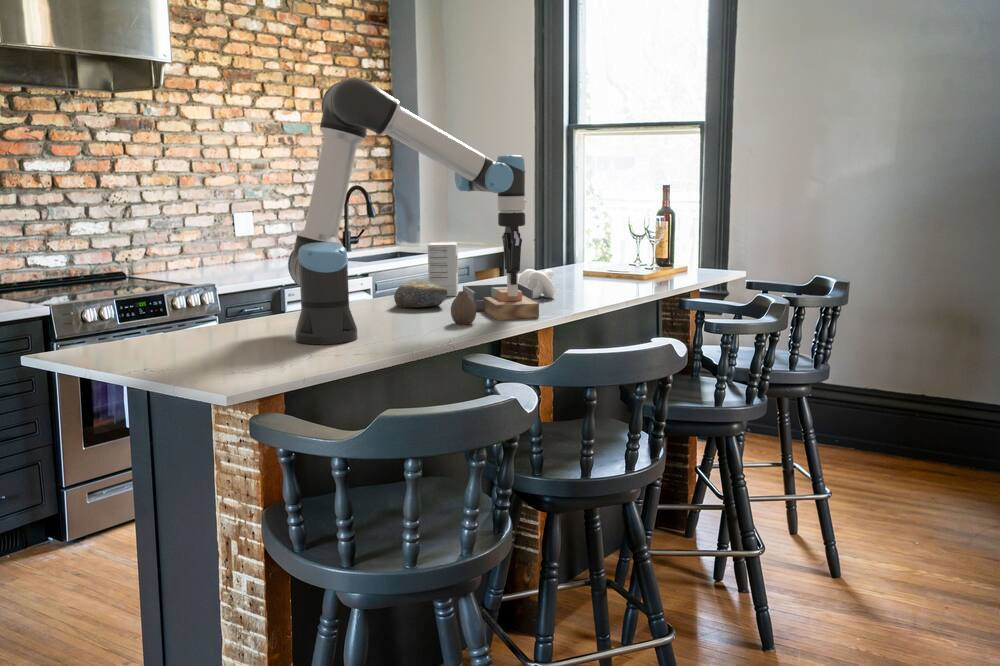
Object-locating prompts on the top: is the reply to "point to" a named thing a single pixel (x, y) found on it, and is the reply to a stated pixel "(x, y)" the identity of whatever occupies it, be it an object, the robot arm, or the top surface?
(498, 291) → the tile
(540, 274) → the white knot sculpture
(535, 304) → the wooden block
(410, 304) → the stone
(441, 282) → the supplement box
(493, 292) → the tile
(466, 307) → the vase
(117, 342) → the top surface
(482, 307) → the box
